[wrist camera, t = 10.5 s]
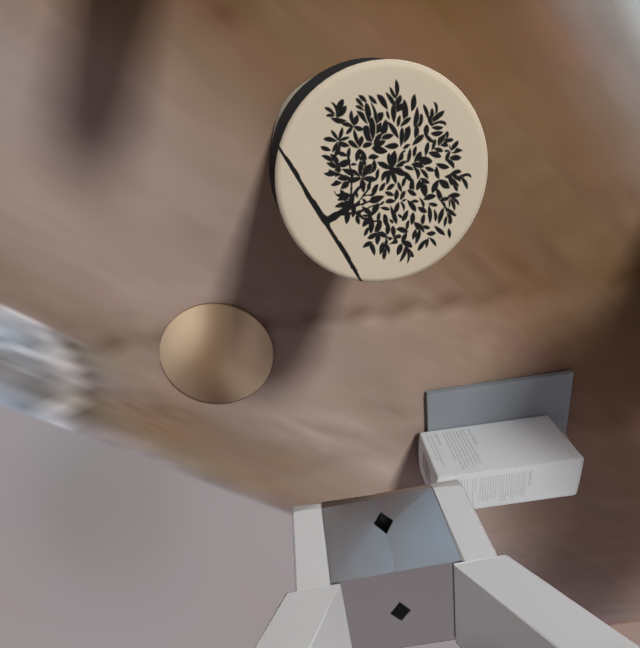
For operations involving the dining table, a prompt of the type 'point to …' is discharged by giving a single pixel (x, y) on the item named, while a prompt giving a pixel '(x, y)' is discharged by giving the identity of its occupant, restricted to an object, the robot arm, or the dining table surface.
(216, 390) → the cork coaster
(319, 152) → the travel mug
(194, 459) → the dining table surface
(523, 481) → the skincare box
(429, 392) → the felt mat
